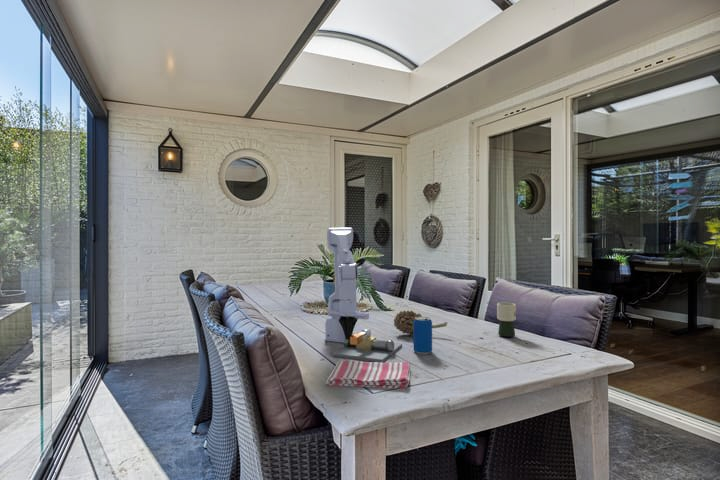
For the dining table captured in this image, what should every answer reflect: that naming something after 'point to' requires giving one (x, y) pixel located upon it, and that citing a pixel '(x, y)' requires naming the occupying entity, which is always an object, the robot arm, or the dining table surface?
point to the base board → (366, 353)
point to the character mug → (506, 318)
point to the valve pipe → (372, 344)
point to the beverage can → (422, 335)
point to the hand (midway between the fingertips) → (348, 338)
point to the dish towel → (370, 374)
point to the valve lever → (360, 336)
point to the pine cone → (409, 322)
